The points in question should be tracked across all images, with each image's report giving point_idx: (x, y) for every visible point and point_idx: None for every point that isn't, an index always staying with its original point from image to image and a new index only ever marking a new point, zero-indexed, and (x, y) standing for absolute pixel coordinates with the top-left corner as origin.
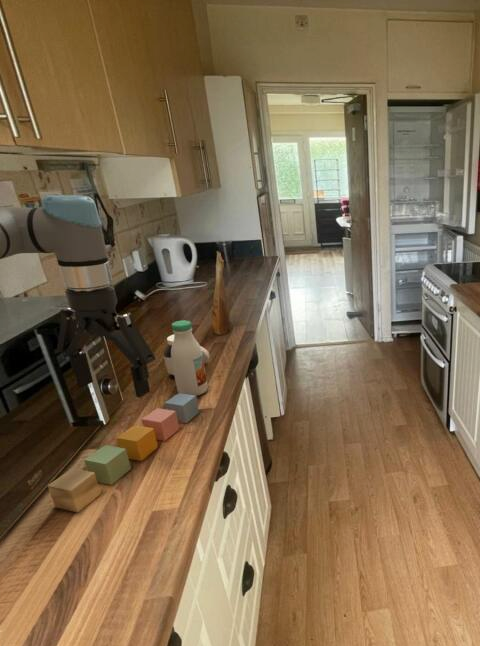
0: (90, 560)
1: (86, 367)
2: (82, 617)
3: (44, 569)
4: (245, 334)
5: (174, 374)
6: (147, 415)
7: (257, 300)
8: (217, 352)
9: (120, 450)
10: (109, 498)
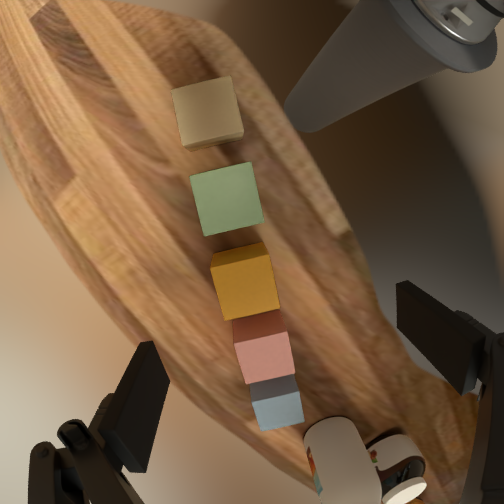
0: (77, 74)
1: (430, 350)
2: (31, 47)
3: (119, 34)
4: None
5: (357, 445)
6: (288, 346)
7: None
8: None
9: (209, 226)
10: (164, 152)
